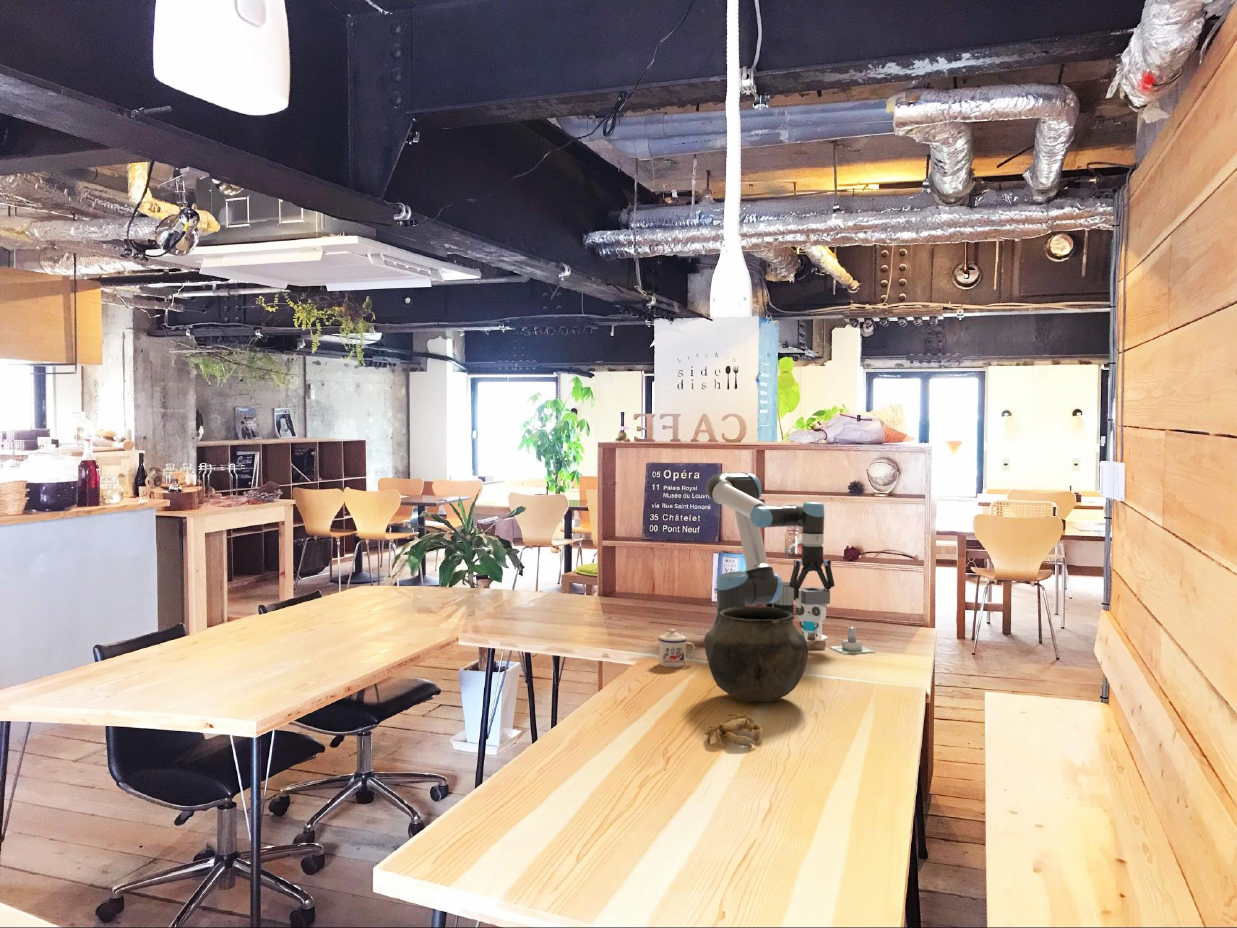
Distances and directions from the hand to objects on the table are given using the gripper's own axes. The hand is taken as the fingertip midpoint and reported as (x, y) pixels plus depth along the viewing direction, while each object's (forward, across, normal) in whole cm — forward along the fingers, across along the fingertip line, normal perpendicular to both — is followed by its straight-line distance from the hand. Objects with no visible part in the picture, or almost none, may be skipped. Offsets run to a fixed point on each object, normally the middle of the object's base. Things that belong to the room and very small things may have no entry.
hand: (811, 606), depth 324 cm
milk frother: (+15, +11, +53) cm, 56 cm away
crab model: (+14, -66, -91) cm, 114 cm away
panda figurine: (+15, +8, +16) cm, 23 cm away
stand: (+14, 0, 0) cm, 15 cm away
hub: (+14, +12, -8) cm, 20 cm away
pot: (+14, -47, -60) cm, 77 cm away
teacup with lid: (+15, -56, -14) cm, 60 cm away
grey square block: (-2, 0, 0) cm, 2 cm away
